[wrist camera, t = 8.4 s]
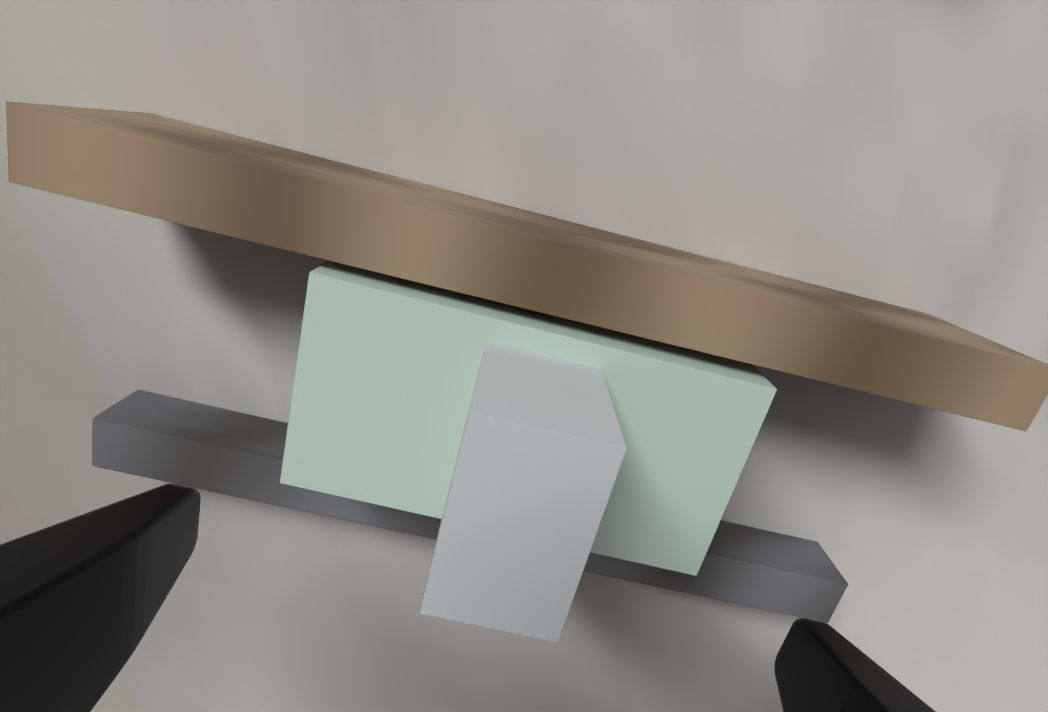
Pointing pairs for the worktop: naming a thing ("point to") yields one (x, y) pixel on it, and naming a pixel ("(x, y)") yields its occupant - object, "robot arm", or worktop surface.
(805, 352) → the brown and gray bars
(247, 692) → the worktop surface
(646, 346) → the mint block with post
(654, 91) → the worktop surface
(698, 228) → the worktop surface
